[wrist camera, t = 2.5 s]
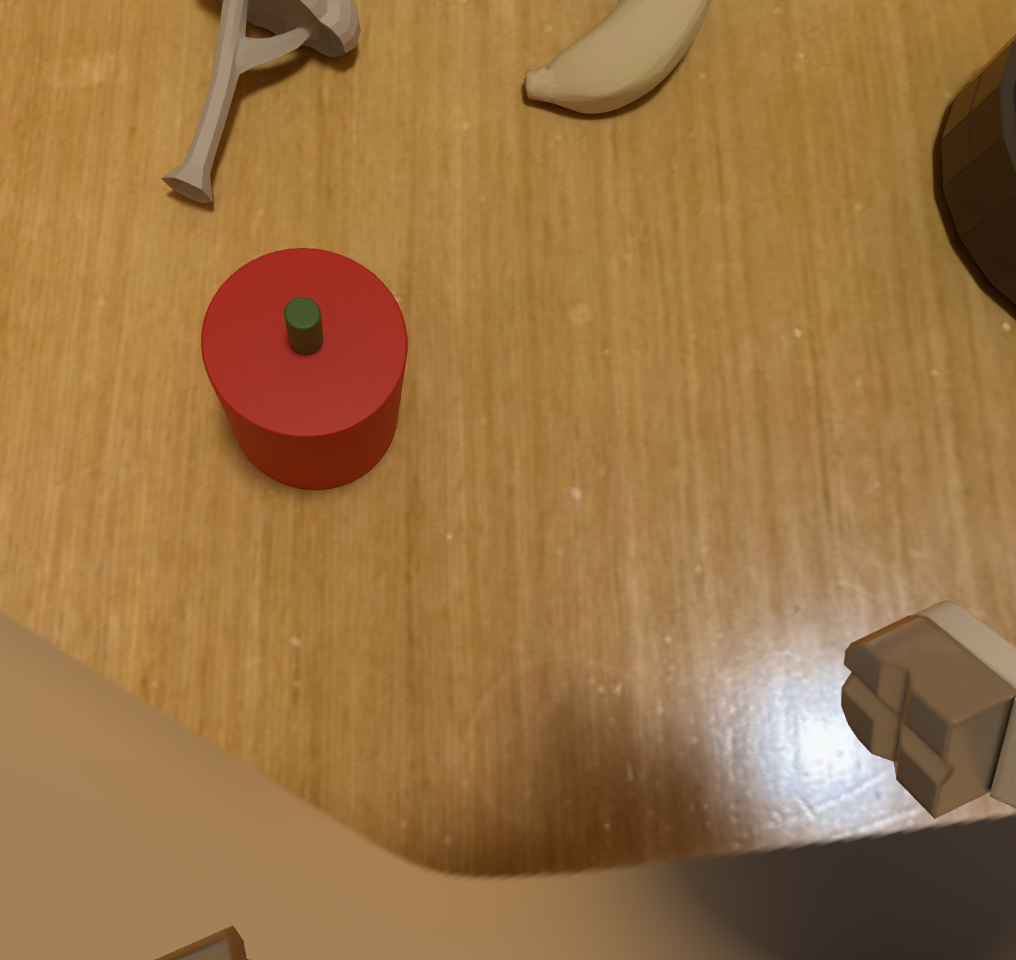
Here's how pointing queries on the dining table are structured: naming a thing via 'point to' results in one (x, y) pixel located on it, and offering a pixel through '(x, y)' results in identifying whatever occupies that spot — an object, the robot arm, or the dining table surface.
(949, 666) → the robot arm
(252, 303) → the pepper
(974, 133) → the pan
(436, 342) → the dining table surface
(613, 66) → the fruit
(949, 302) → the dining table surface
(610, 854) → the dining table surface
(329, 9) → the mushroom
